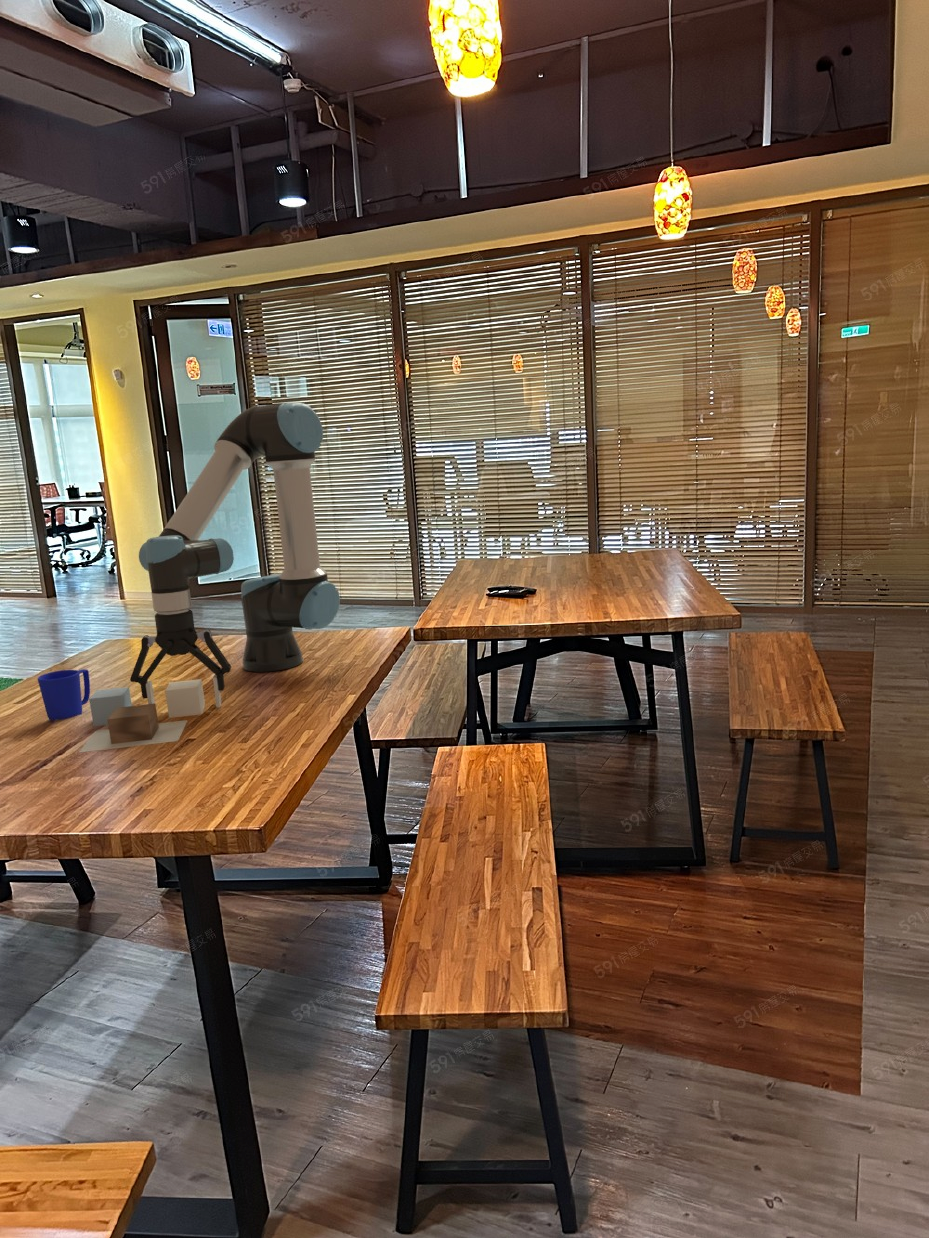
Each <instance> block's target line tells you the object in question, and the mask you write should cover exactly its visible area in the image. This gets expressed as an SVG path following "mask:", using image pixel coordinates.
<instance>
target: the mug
mask: <svg viewBox="0 0 929 1238" xmlns="http://www.w3.org/2000/svg"><path fill="white" fill-rule="evenodd" d="M89 673H90V671H89V670H88V669H79V670H77V669H63V670H57V671H56V670H55V671H51V672H47V673H44V674H42V675H40V676H38V677H37V682H38V686H39V690H40V694H41V698H42V701H43V705H44V709H45V712H46V716H47V719H49V720H48V721H50V722H53V723H54V722H55V721H58V720H65V719H69V718H71V719H72V718H75V717H76V716H81V715H82V714H83V706H84V705H85V704H87V703H88V702H89V698H90V697H91V686H90V685H91V682H90V674H89ZM81 674H82V678H83V687H84V688H83V689H84V693H83V699H82V690H81V689H82V688H81V678H80V677H81V676H80V675H81Z"/></svg>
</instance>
